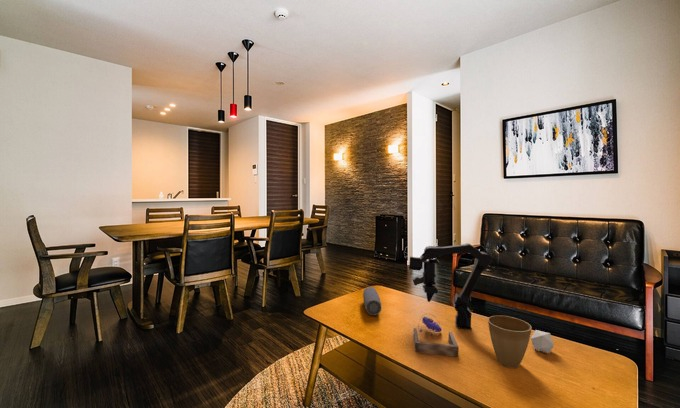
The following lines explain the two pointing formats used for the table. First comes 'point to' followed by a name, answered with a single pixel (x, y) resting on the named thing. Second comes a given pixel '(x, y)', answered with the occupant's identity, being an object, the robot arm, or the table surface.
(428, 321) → the game controller
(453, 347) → the docking bay
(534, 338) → the die
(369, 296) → the bluetooth speaker
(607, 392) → the table surface
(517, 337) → the plant pot
